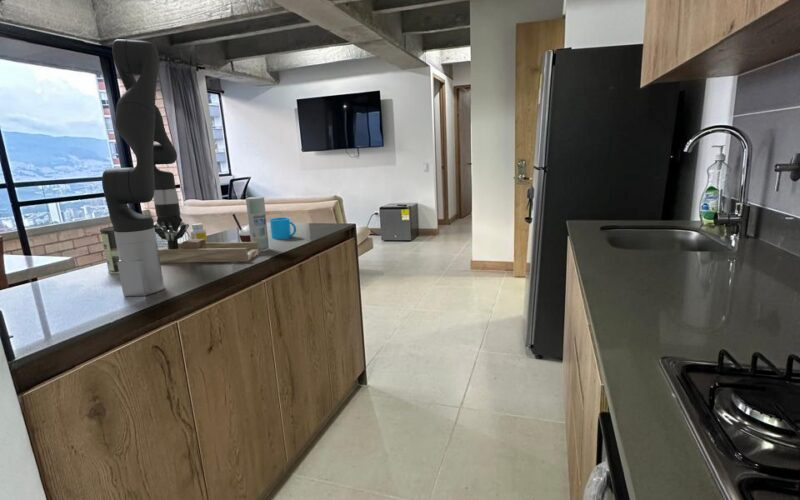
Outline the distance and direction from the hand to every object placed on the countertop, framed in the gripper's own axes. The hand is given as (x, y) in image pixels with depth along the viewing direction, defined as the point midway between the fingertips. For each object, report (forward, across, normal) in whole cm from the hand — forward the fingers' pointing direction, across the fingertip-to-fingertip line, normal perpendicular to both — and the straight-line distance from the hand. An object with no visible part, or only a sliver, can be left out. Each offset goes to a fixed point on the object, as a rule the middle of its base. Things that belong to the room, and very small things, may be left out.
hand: (174, 250), depth 151 cm
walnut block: (+1, +8, 0) cm, 8 cm away
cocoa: (+3, +16, +26) cm, 31 cm away
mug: (+3, +29, +35) cm, 46 cm away
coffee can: (+3, -8, -14) cm, 17 cm away
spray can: (+3, +27, +11) cm, 29 cm away
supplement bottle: (+3, +1, +16) cm, 16 cm away
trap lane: (+3, +12, 0) cm, 12 cm away
